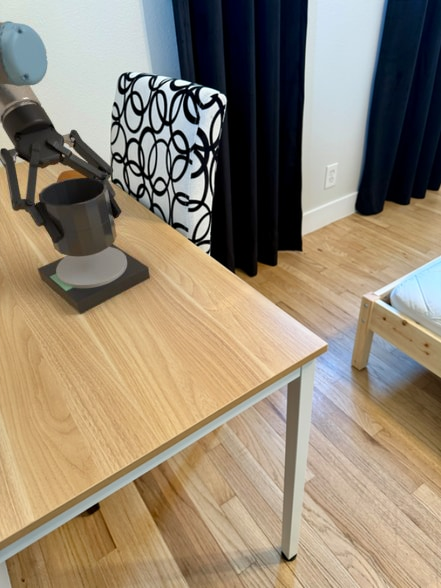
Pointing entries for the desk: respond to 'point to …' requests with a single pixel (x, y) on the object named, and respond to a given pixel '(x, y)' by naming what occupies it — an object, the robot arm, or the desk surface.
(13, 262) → the desk surface
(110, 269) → the scale
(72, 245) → the cup
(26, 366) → the desk surface
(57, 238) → the robot arm
